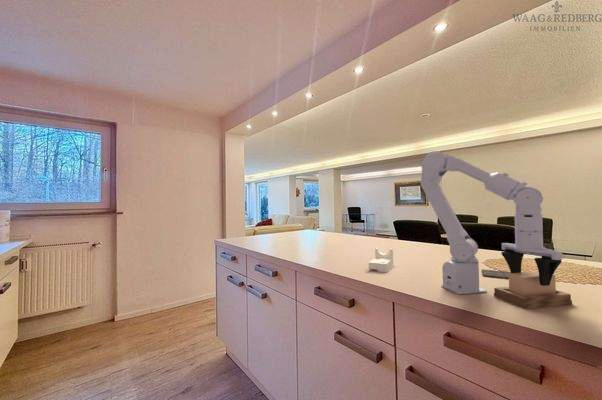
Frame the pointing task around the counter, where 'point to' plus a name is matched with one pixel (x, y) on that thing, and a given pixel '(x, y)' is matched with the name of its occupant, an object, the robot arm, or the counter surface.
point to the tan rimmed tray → (533, 298)
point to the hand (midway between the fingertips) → (529, 280)
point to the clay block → (529, 284)
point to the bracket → (382, 261)
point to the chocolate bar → (495, 274)
